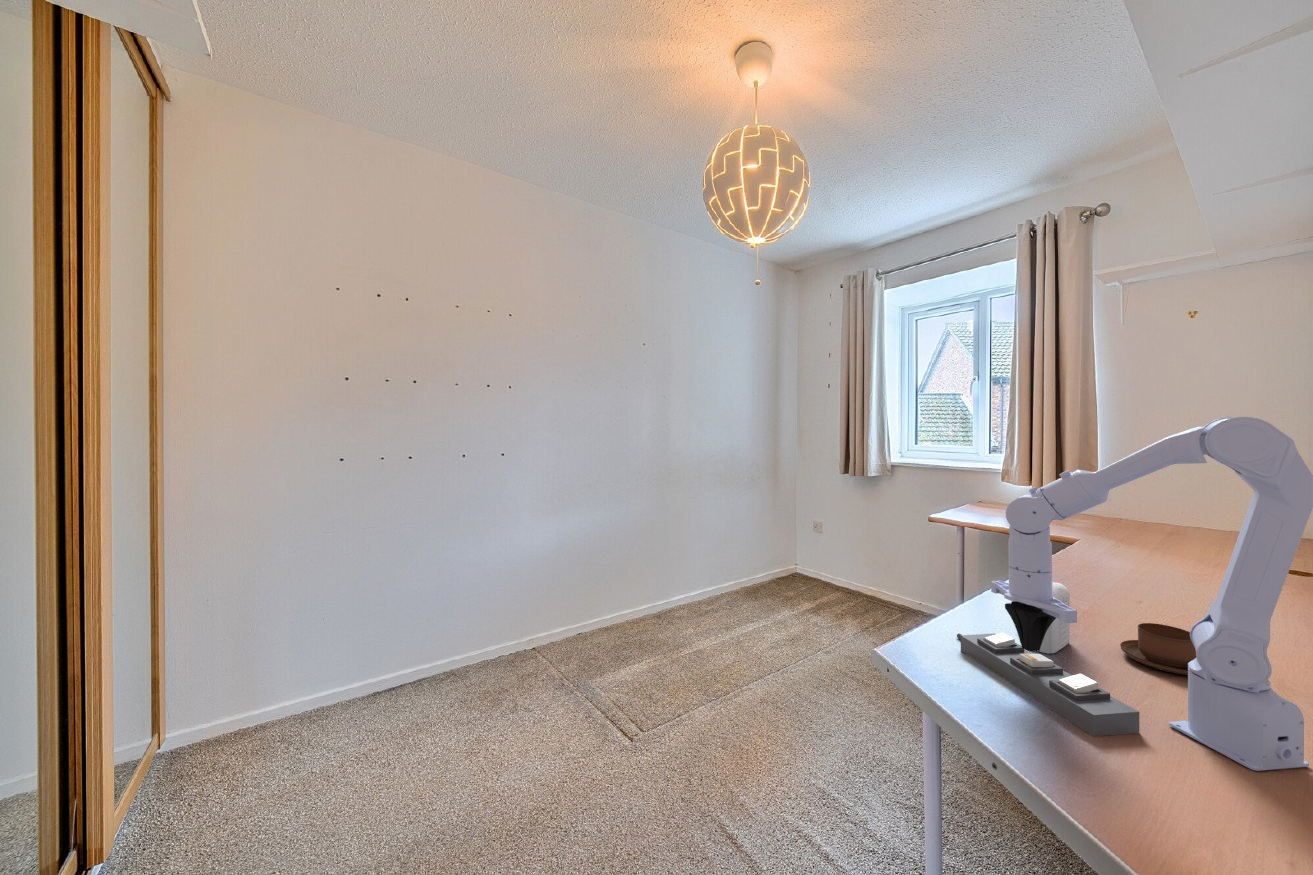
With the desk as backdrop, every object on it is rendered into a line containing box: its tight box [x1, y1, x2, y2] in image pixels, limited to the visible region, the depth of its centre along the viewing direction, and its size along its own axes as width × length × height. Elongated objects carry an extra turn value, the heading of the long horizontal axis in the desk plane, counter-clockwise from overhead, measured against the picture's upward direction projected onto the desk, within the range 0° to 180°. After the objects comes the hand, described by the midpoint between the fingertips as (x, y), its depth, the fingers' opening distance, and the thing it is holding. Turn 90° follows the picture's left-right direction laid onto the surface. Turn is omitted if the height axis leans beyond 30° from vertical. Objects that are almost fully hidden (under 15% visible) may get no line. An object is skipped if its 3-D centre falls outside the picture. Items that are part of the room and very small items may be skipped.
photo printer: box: [1038, 581, 1071, 655], centre depth 94 cm, size 10×4×12 cm, turn 123°
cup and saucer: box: [1120, 622, 1196, 676], centre depth 86 cm, size 12×12×6 cm
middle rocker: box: [1019, 653, 1054, 667], centre depth 80 cm, size 3×4×1 cm
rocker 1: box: [985, 632, 1016, 647], centre depth 88 cm, size 3×4×1 cm
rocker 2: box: [1059, 673, 1099, 693], centre depth 73 cm, size 3×4×1 cm
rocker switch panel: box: [956, 632, 1140, 737], centre depth 83 cm, size 32×7×4 cm, turn 5°
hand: (1030, 649), depth 80 cm, fingers closed
